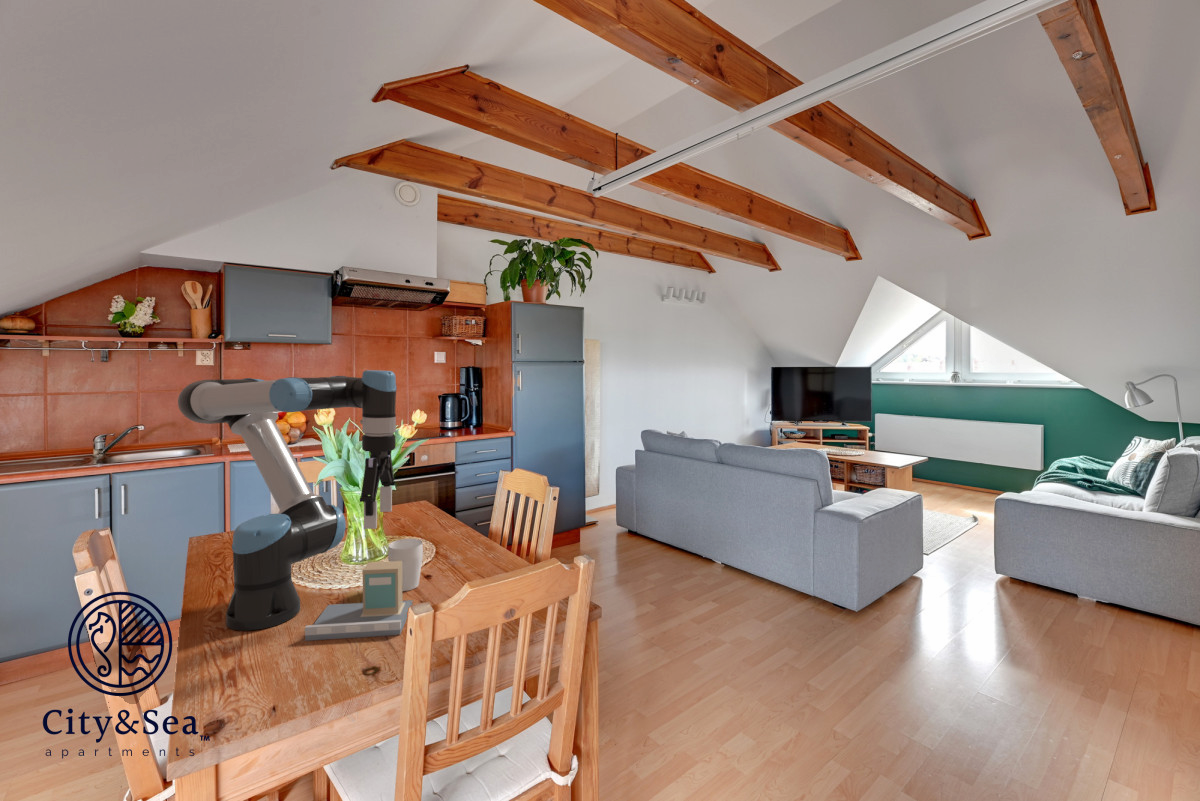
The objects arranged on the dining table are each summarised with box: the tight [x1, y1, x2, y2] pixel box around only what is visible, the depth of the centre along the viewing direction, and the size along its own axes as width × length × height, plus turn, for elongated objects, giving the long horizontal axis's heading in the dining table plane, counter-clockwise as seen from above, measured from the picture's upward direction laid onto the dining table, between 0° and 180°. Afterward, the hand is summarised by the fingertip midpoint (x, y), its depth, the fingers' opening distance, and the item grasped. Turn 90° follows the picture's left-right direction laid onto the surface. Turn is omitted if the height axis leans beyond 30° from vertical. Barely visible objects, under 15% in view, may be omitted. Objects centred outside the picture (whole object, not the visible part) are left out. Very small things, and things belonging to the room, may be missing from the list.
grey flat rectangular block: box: [304, 599, 414, 642], centre depth 125 cm, size 20×15×3 cm
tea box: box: [362, 560, 404, 615], centre depth 128 cm, size 8×5×11 cm, turn 100°
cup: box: [387, 538, 424, 592], centre depth 145 cm, size 9×9×12 cm
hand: (378, 519), depth 130 cm, fingers open, 13 cm apart
